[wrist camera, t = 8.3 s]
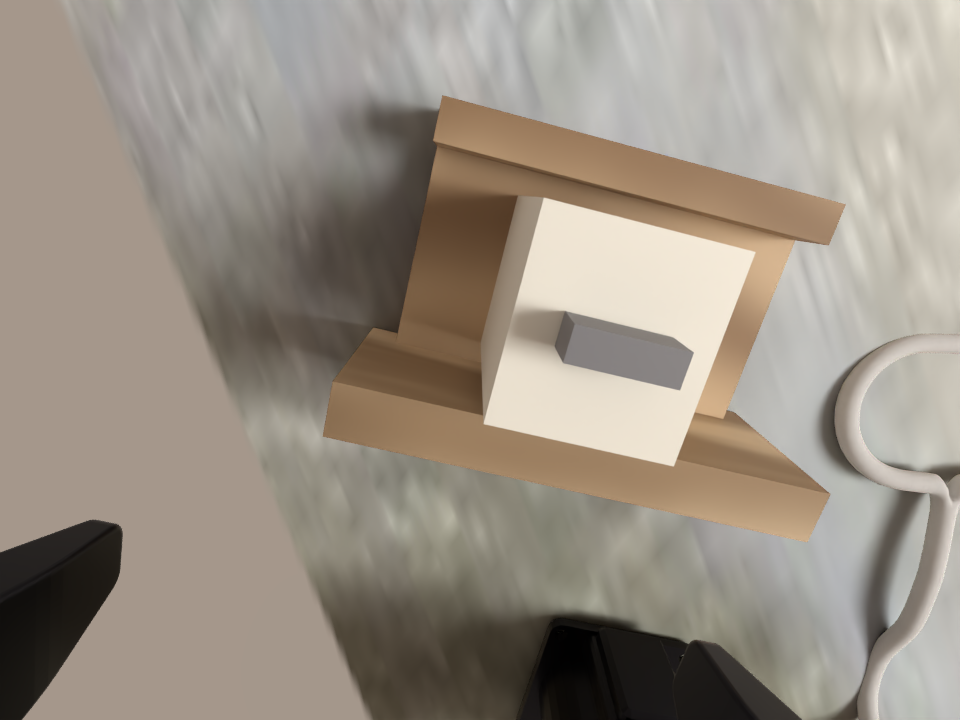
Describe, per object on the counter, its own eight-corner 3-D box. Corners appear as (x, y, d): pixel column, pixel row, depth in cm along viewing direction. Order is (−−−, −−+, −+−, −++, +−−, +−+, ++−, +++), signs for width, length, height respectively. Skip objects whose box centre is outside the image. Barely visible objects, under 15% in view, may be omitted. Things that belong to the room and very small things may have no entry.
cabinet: (605, 371, 19) (693, 493, 12) (480, 342, 19) (484, 447, 11) (651, 229, 18) (787, 258, 10) (517, 195, 18) (552, 198, 10)
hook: (753, 747, 26) (803, 323, 23) (949, 751, 26) (1023, 330, 23) (860, 926, 19) (952, 342, 16) (1130, 929, 19) (1268, 353, 16)
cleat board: (719, 449, 22) (807, 542, 16) (365, 368, 21) (322, 436, 15) (816, 209, 19) (963, 217, 13) (417, 102, 18) (390, 60, 12)
